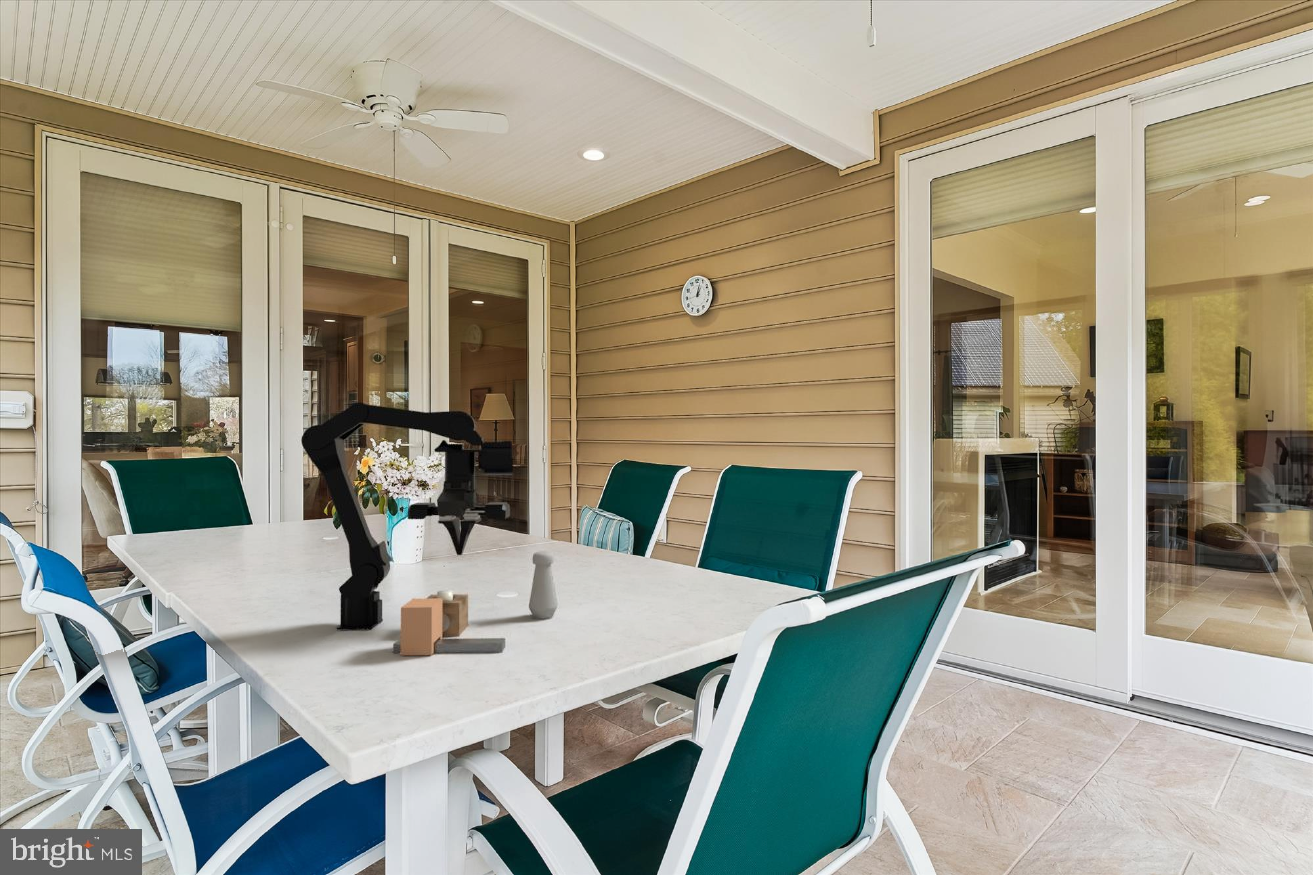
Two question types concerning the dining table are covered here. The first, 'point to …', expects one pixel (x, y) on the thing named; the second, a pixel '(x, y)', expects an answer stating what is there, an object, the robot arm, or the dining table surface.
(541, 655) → the dining table surface
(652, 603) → the dining table surface
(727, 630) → the dining table surface
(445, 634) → the cabinet
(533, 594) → the salt shaker
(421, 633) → the block
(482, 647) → the rail
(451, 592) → the plunger
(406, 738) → the dining table surface
